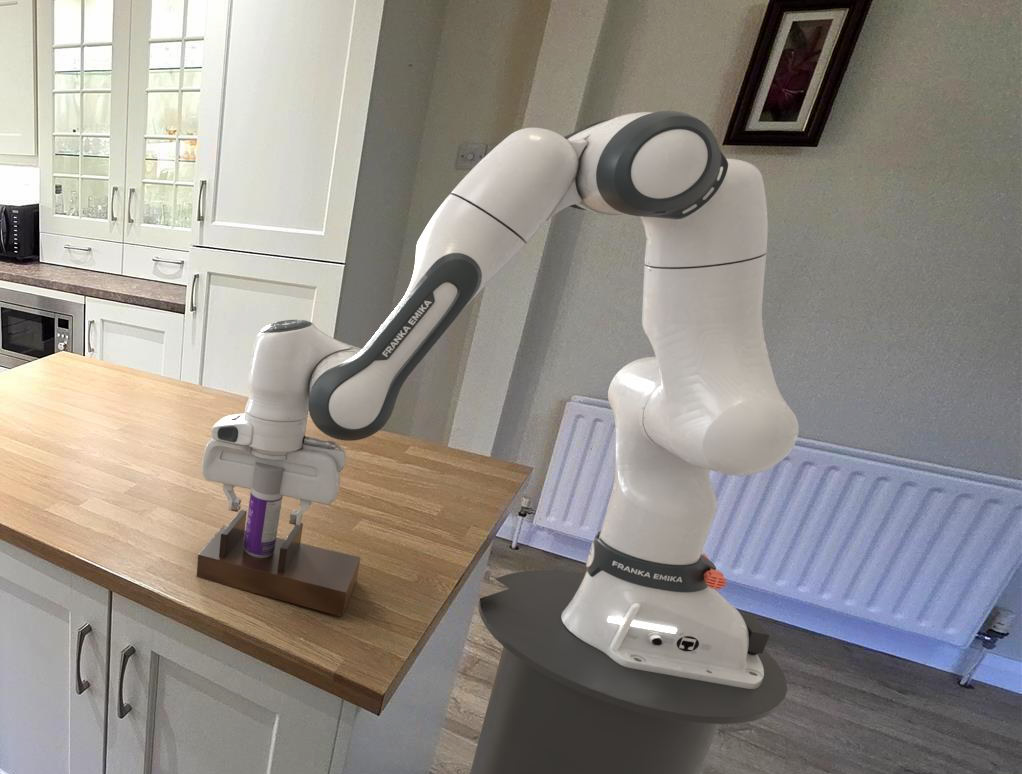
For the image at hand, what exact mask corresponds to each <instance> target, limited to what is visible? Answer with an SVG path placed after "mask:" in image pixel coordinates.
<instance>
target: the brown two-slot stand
mask: <svg viewBox="0 0 1022 774" xmlns="http://www.w3.org/2000/svg"><path fill="white" fill-rule="evenodd" d="M247 515H248V511H247V510H244V509H240V510H239V511H238V512H237V513H236V515H235V516H234V517H233V518H232V520H231V521H230V522H229V523H228V525H224V524H223V525H222V526H221V527H220V528H219V529H218V530H217V532H216V533H215V534H214V535H213V536H212V538H211V539H210V540H209V541H208V542H207V543H206V544H205V546H204V547H203V548H202V550H201V551H200V552H199V553H198V555H197V564H196V565H197V566H196V575H195V577H196V578H199V579H203V580H205V581H209V582H212V583H217V584H221V585H223V586H228V587H232V588H236V589H238V590H241V591H247V592H250V593H253V594H256V595H257V594H258V595H260V596H265V597H268V598H272V599H275V600H280V601H283V602H286V603H291V604H294V605H297V606H302V607H305V608H309V609H313V610H316V611H320V612H323V613H327V614H331V615H334V616H338V617H343V615H344V613H345V611H346V608H347V607H348V603H349V601H350V598H351V596H352V593H353V590H354V588H355V586H356V583H357V581H358V577H359V571H360V566H361V565H360V564H361V559H362V557H361V556H358V555H357V556H356V555H352V554H348V553H345V552H339V551H336V550H331V549H327V548H322V547H320V546H319V547H318V546H314V545H310V544H306V543H302V542H301V541H302V535H303V527H304V523H303V522H301V524H300V525H299V526H298V525H294V526H293V527H292V529H291V530H290V532H289V533H288V535H287V537H286V538H280V537H276V543H275V549H274V554H273V555H272V556H270V557H267V558H258V557H254V556H251V555H249V554H247V553H246V552H245V551H244V540H245V532H246V524H247Z"/></svg>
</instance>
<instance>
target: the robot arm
mask: <svg viewBox="0 0 1022 774" xmlns="http://www.w3.org/2000/svg"><path fill="white" fill-rule="evenodd" d="M767 206H768V205H767V195H766V188H765V184H764V179H763V174H762V173H761V170H760V169H759V168H758V167H757V166H756V165H754V164H753V163H750V162H749V161H745V160H742V159H737V158H728V157H726V156H725V155H724V154H723V152H722V150H721V149H720V145H719V142H718V140H717V137H716V136H715V134H714V132H713V131H712V130H711V128H710V127H709V126H708V124H706V123H705V122H704V121H703V120H702V119H699V118H698V117H696V116H694V115H692V114H690V113H689V114H688V113H686V112H682V111H676V110H659V111H640V112H639V111H638V112H630V113H625V114H622V115H619V116H616V117H614V118H612V119H604V120H600V121H596V122H593V123H590V124H588V125H585V126H584V127H582V128H581V127H580V129H577V130H575V131H574V132H572V133H570V134H567V135H565V136H563V135H561V134H559V133H558V132H556V131H553V130H551V129H547V128H542V127H524V128H521V129H518V130H516V131H514V132H512V133H510V134H509V135H508V136H507V137H505V138H504V139H502V141H501V142H500V143H498V144H497V145H496V146H495V147H493V149H491V151H489V152H488V153H487V154H486V155H485V156H484V157H483V158H482V159H481V160H480V161H479V162H478V163H476V165H474V167H473V168H472V169H471V170H470V171H469V172H468V173H467V174H466V175H465V176H464V177H463V178H462V180H460V182H459V183H458V184H457V185H456V186H455V188H453V189H452V190H451V192H450V194H448V196H447V197H446V198H445V199H444V200H443V202H442V203H441V204H440V206H438V208H437V209H436V211H435V212H434V214H433V215H432V217H431V218H430V219H429V221H428V223H427V224H426V226H425V228H424V229H423V231H422V233H421V235H420V236H419V238H418V240H417V242H416V245H415V257H414V266H413V273H412V277H411V279H410V282H409V285H408V288H407V290H406V292H405V294H404V296H403V297H402V298H401V300H400V301H399V303H398V304H397V306H396V307H395V308H394V310H392V312H391V313H390V314H389V316H387V318H386V319H385V321H384V322H383V323H382V324H381V325H380V327H379V328H378V329H377V331H376V332H375V333H374V334H373V336H372V337H371V338H370V339H369V340H368V342H367V343H366V344H365V345H364V347H363V348H361V347H358V346H355V345H351V344H348V343H346V342H343V341H340V340H338V339H337V338H334V337H332V336H330V335H328V334H326V333H325V332H324V331H322V330H321V329H319V328H318V327H317V326H316V325H315V324H314V323H313V322H311V321H309V320H306V319H285V320H280V321H275V322H273V323H269V324H267V325H265V326H264V327H263V328H261V330H259V332H258V333H257V334H256V336H255V338H254V341H253V345H252V348H251V354H250V360H249V367H248V376H247V385H248V390H249V392H248V393H249V394H248V395H249V396H248V399H247V402H246V405H245V407H244V412H243V413H235V414H234V413H233V414H229V415H225V416H224V417H222V418H220V419H219V420H217V421H216V422H215V423H214V424H213V426H212V427H211V428H210V437H211V439H210V440H209V441H208V442H207V444H206V446H205V448H204V452H203V455H202V461H201V470H200V471H201V473H200V474H201V475H202V477H203V478H204V479H205V481H207V482H208V481H209V482H214V483H218V484H222V491H223V493H224V495H225V496H226V499H227V501H228V509H227V510H228V511H230V512H236V513H239V511H240V510H241V508H242V498H240V497H237V494H236V492H235V490H234V489H235V487H238V488H242V489H247V490H251V488H252V483H253V475H254V469H255V462H258V463H263V464H267V465H272V466H276V467H281V468H285V469H284V472H283V476H282V482H281V487H280V495H282V496H283V497H286V498H287V497H288V498H292V499H296V500H299V506H300V508H299V509H292V510H291V512H290V515H289V524H290V525H294V526H295V525H298V526H299V525H300V524H301V523H303V522H302V521H303V515H304V514H305V512H307V510H308V509H309V508H310V507H311V505H312V504H313V503H316V504H321V505H326V506H329V505H331V504H332V503H334V502H336V500H337V499H338V497H339V494H340V489H341V471H342V470H343V469H344V468H345V465H346V458H347V454H346V453H347V452H346V451H345V449H344V448H343V447H342V446H341V445H339V444H338V442H337V441H334V440H329V439H328V440H325V439H321V438H316V437H310V436H306V433H307V432H306V431H307V424H308V415H309V416H310V419H311V421H312V422H313V424H314V425H315V427H316V428H317V429H318V430H319V431H320V432H322V433H323V434H324V435H326V436H328V437H330V438H332V439H335V440H338V441H347V442H348V441H349V442H351V441H353V442H355V441H361V440H363V439H366V438H369V437H371V436H373V435H374V434H376V433H378V432H379V431H380V430H382V429H383V427H384V426H385V425H386V424H387V422H388V421H389V420H390V418H391V416H392V414H393V411H394V409H395V407H396V402H397V399H398V396H399V393H400V391H401V389H402V387H403V385H404V383H405V382H406V381H407V379H408V377H409V376H410V375H411V374H412V373H413V371H414V370H415V369H416V367H418V365H419V364H420V363H421V361H422V360H423V359H424V358H425V356H427V354H428V353H429V352H430V351H431V349H432V348H433V347H434V345H435V344H436V343H437V342H438V341H439V340H440V338H441V337H442V336H443V335H444V333H445V332H446V331H447V330H448V329H449V327H450V326H452V324H453V322H454V321H455V320H457V318H458V316H459V315H460V314H461V312H462V311H463V310H464V309H465V308H466V307H467V306H468V305H469V304H470V303H471V302H472V301H473V300H474V298H476V296H478V294H479V293H480V292H481V291H482V290H483V289H484V288H485V287H486V286H487V285H488V284H489V283H490V282H491V281H492V280H493V279H494V278H495V277H496V276H497V275H498V274H499V273H500V272H501V271H502V270H504V268H505V267H506V266H507V265H508V264H509V263H510V262H511V261H513V259H514V258H515V257H516V256H517V255H518V254H519V253H520V252H521V250H523V248H524V247H525V246H526V244H528V243H529V242H530V240H531V239H532V238H533V237H534V236H535V235H536V234H537V232H538V231H540V229H541V228H542V226H543V225H544V224H545V223H546V222H547V221H549V220H550V219H551V218H552V217H555V215H556V214H558V213H559V212H561V211H563V210H564V209H567V208H568V207H570V208H573V209H578V210H582V211H589V212H592V213H595V214H601V215H605V216H621V215H629V216H635V217H638V218H639V219H640V220H641V223H642V225H643V228H644V232H645V238H646V240H645V242H646V243H645V250H644V265H643V286H642V305H641V307H642V309H641V326H642V330H643V332H644V334H645V336H646V338H648V340H649V343H650V345H651V347H652V350H653V353H654V356H646V357H642V358H638V359H635V360H633V361H631V362H629V363H627V364H626V365H624V366H623V367H622V368H620V370H618V371H617V372H616V374H615V375H614V376H613V378H612V380H611V381H610V384H609V387H608V391H607V398H608V399H607V400H608V404H609V406H610V409H611V411H612V414H613V419H614V441H615V443H614V447H615V448H614V449H615V450H614V454H615V455H614V477H613V484H612V489H611V494H610V496H609V501H608V504H607V508H606V512H605V515H604V518H603V522H602V525H601V530H599V531H597V533H596V534H595V536H594V539H593V541H592V542H591V546H590V548H589V552H588V555H587V559H586V564H585V566H586V567H585V568H586V569H585V570H586V572H585V573H584V574H585V576H584V579H583V581H582V583H581V585H580V587H579V589H578V590H577V592H576V594H575V596H574V597H573V599H572V600H571V602H570V603H569V605H568V606H567V607H566V608H565V610H564V611H563V612H562V615H561V618H562V621H563V623H564V625H565V626H566V627H567V629H568V630H569V631H570V632H572V633H573V634H574V635H575V636H577V637H578V638H579V639H581V640H583V641H584V642H586V643H588V644H589V645H591V646H593V647H595V648H597V649H599V650H601V651H602V652H604V653H606V654H607V655H608V656H609V657H610V658H612V659H613V660H614V661H615V662H617V663H618V664H620V665H622V666H624V667H627V668H632V669H638V670H643V671H649V672H655V673H661V674H666V675H672V676H678V677H683V678H689V679H695V680H701V681H706V682H712V683H718V684H723V685H729V686H735V687H741V688H746V689H756V688H758V687H759V686H760V685H761V684H762V681H763V677H764V669H763V665H762V663H761V660H760V659H759V657H758V655H757V654H758V653H761V654H762V653H763V651H764V649H765V648H766V646H767V644H768V641H769V639H770V636H771V635H770V633H769V632H768V631H767V630H766V628H765V627H764V626H763V625H762V624H761V622H760V621H759V620H758V619H757V617H756V616H755V615H754V614H749V613H745V612H740V611H739V610H738V609H737V608H736V607H735V606H734V605H733V604H732V603H731V602H730V601H729V600H728V599H726V598H725V597H724V596H723V595H722V594H721V593H720V592H719V591H717V590H721V589H723V588H725V587H726V586H727V579H726V578H725V576H724V574H723V572H721V571H720V570H717V567H716V565H715V563H714V562H713V561H711V560H710V559H709V557H708V556H707V555H706V554H705V552H703V550H704V547H705V544H706V542H707V539H708V537H709V533H710V531H711V528H712V526H713V522H714V520H715V517H716V515H717V510H718V500H717V495H716V492H715V490H714V488H713V485H712V481H711V477H710V472H715V473H718V474H723V475H727V476H735V477H742V476H743V477H744V476H753V475H756V474H759V473H762V472H765V471H768V470H769V469H771V468H774V467H775V466H777V465H778V464H779V463H780V462H782V461H783V460H784V459H785V458H786V457H788V455H789V454H790V452H792V450H793V448H794V447H795V445H796V443H797V441H798V438H799V431H800V429H799V428H800V427H799V421H798V418H797V415H796V414H795V413H794V412H793V410H792V409H791V408H790V406H789V405H788V403H787V402H786V400H785V399H784V397H783V396H782V393H781V392H780V389H779V387H778V384H777V381H776V378H775V375H774V372H773V371H774V370H773V368H772V364H771V360H770V355H769V352H768V348H767V344H766V343H767V342H766V339H765V338H766V337H765V333H764V325H763V302H764V301H763V299H764V289H765V288H764V285H765V275H766V274H765V273H766V264H767V263H766V262H767V261H766V260H767V251H768V250H767V249H768V235H769V234H768V233H769V232H768V231H769V229H768V228H769V224H768V223H769V221H768V220H769V218H768V207H767Z"/></svg>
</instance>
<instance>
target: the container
mask: <svg viewBox="0 0 1022 774" xmlns="http://www.w3.org/2000/svg"><path fill="white" fill-rule="evenodd" d="M284 469H285V468H281V467H276V466H272V465H267V464H263V463H258V462H255V469H254V475H253V483H252V488H251V489H250V493H249V502H248V509H247V510H248V511H247V515H246V523H245V530H246V532H245V540H244V551H245V552H246V553H247V554H249V555H251V556H254V557H258V558H267V557H270V556H272V555H273V554H274V549H275V543H276V538H277V535H278V528H279V523H280V516H281V509H282V503H283V497H284V496H282V495H280V487H281V482H282V476H283V472H284Z"/></svg>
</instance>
